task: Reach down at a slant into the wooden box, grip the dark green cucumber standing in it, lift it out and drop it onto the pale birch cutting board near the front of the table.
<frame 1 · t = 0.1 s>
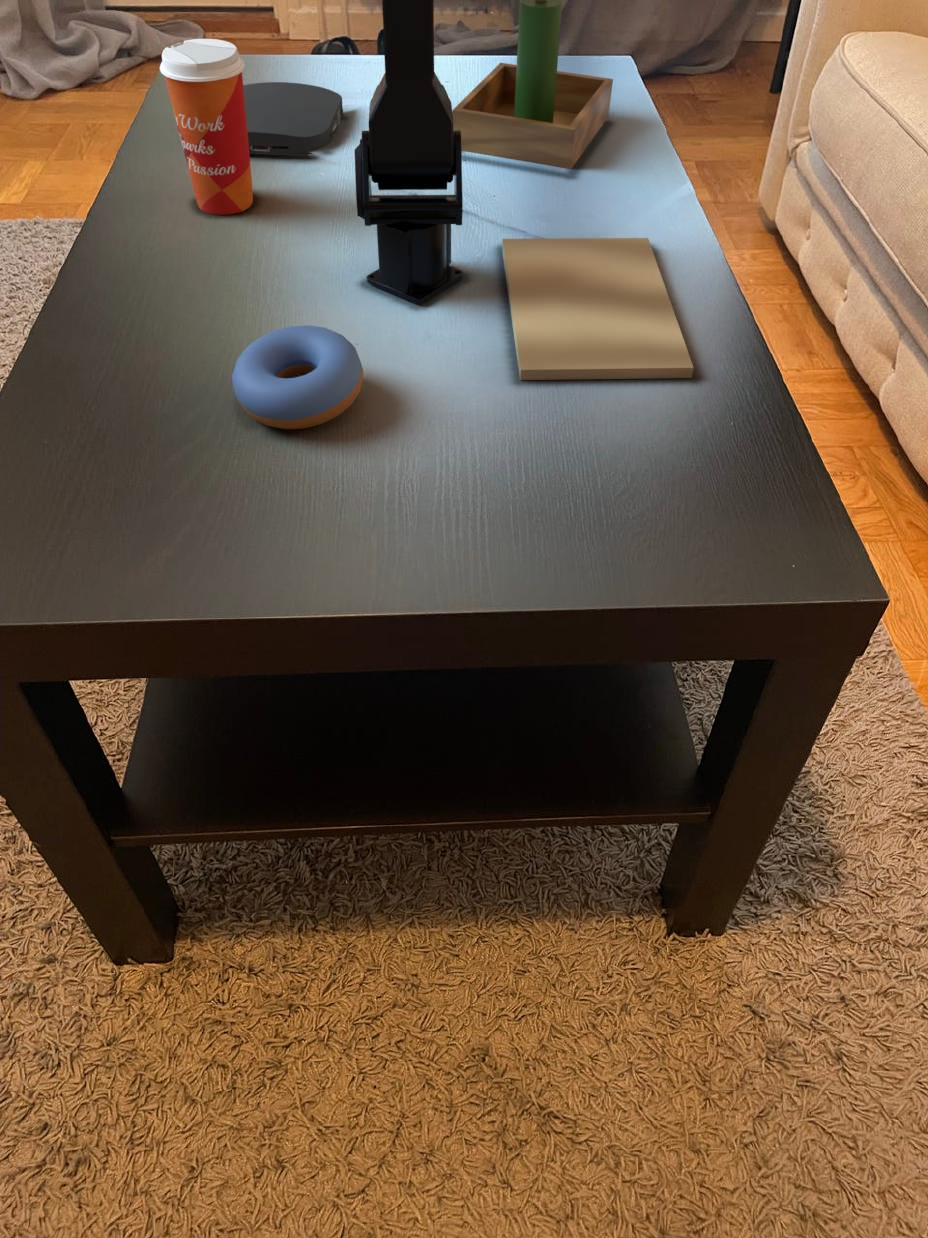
doughnut: (301, 403, 76), on the table
paper cup: (226, 204, 99), on the table
wooden box: (532, 138, 111), on the table
cutting board: (588, 307, 86), on the table
cucumber: (532, 131, 110), point 1 cm above the table, touching wooden box
media streaming box: (275, 132, 111), on the table
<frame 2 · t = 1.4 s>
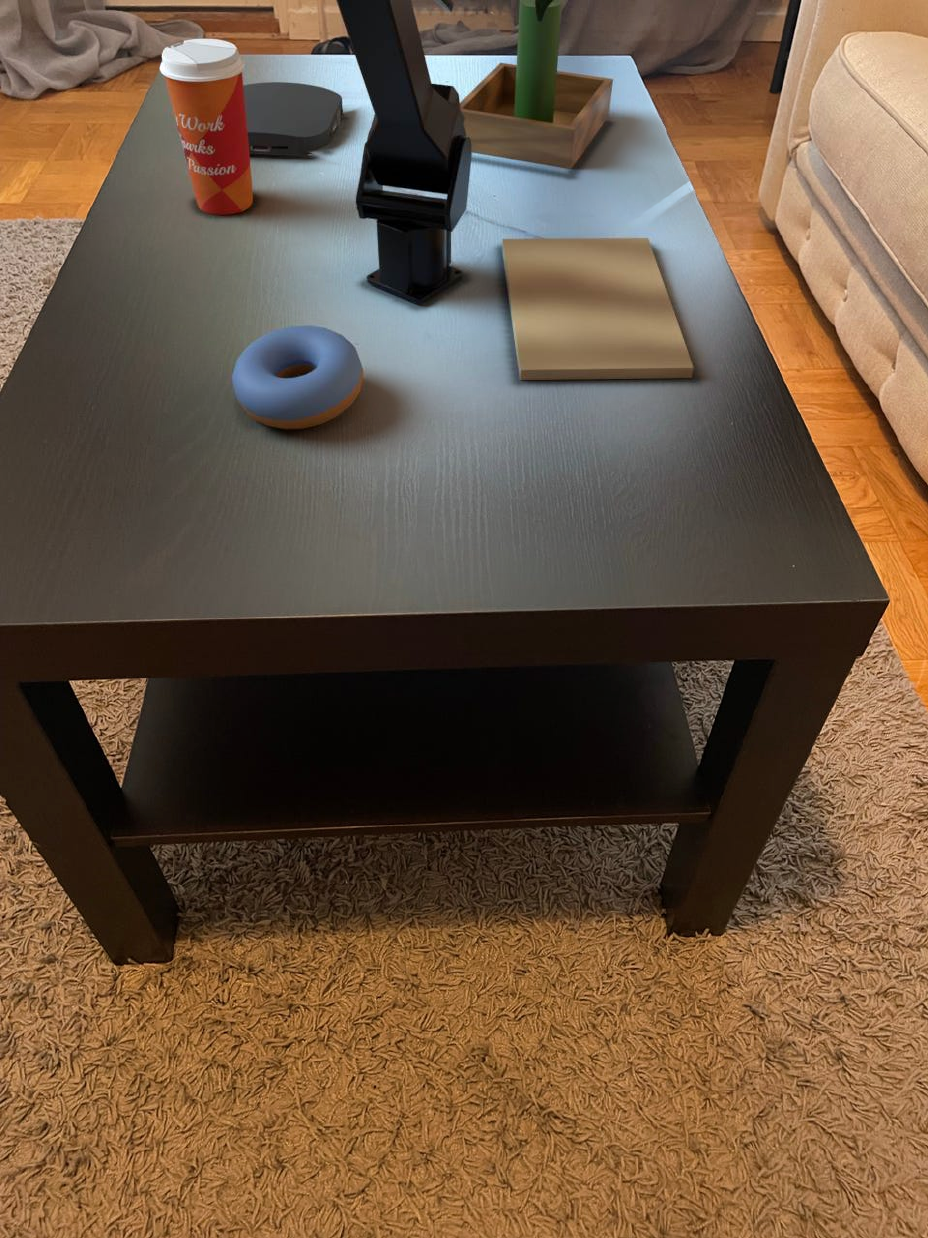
hand: (495, 11, 96), 14 cm above the table, tool tilted 35°, fingers open, 9 cm apart
nothing on the table moved.
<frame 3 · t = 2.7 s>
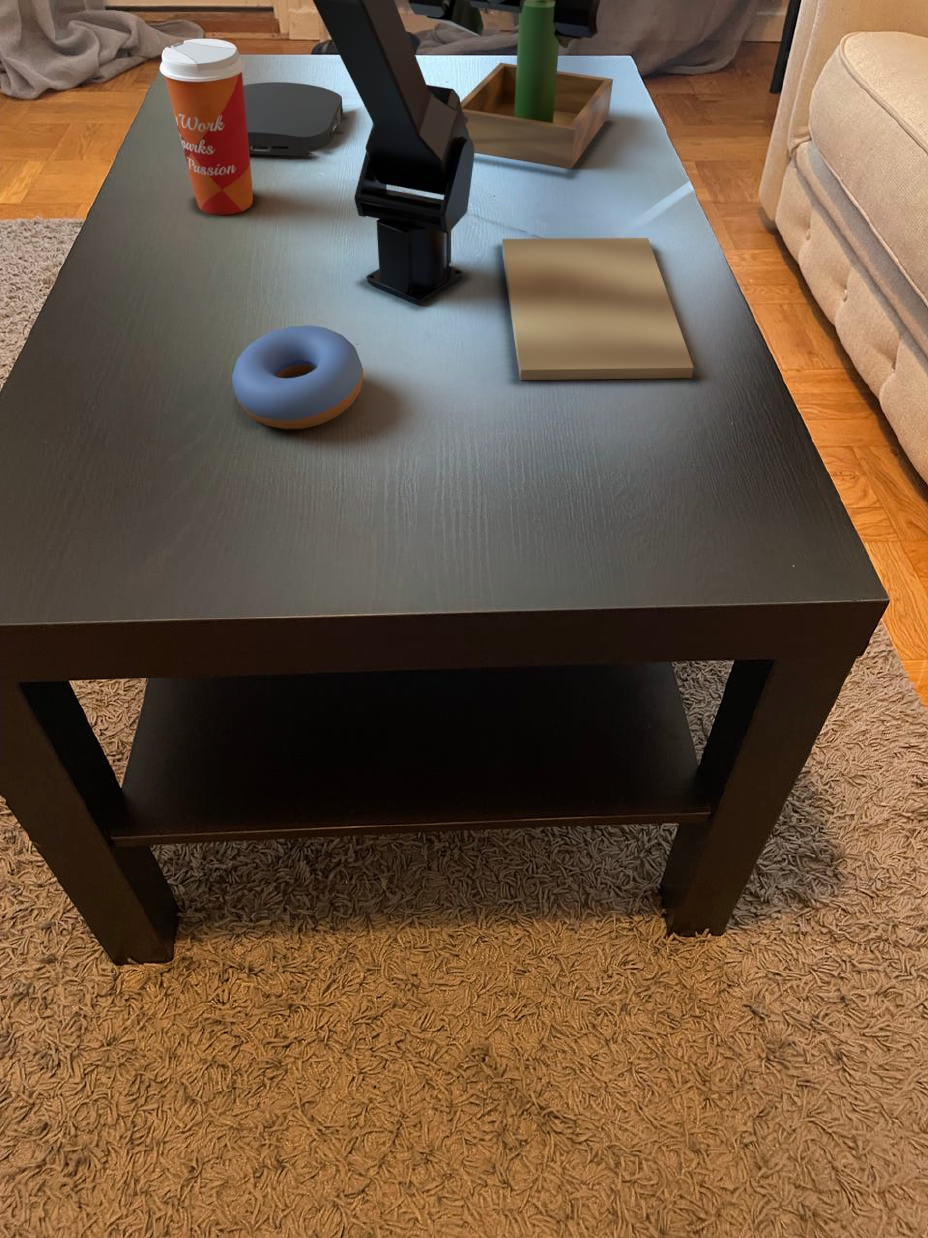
hand: (523, 36, 98), 12 cm above the table, tool tilted 45°, fingers open, 9 cm apart
nothing on the table moved.
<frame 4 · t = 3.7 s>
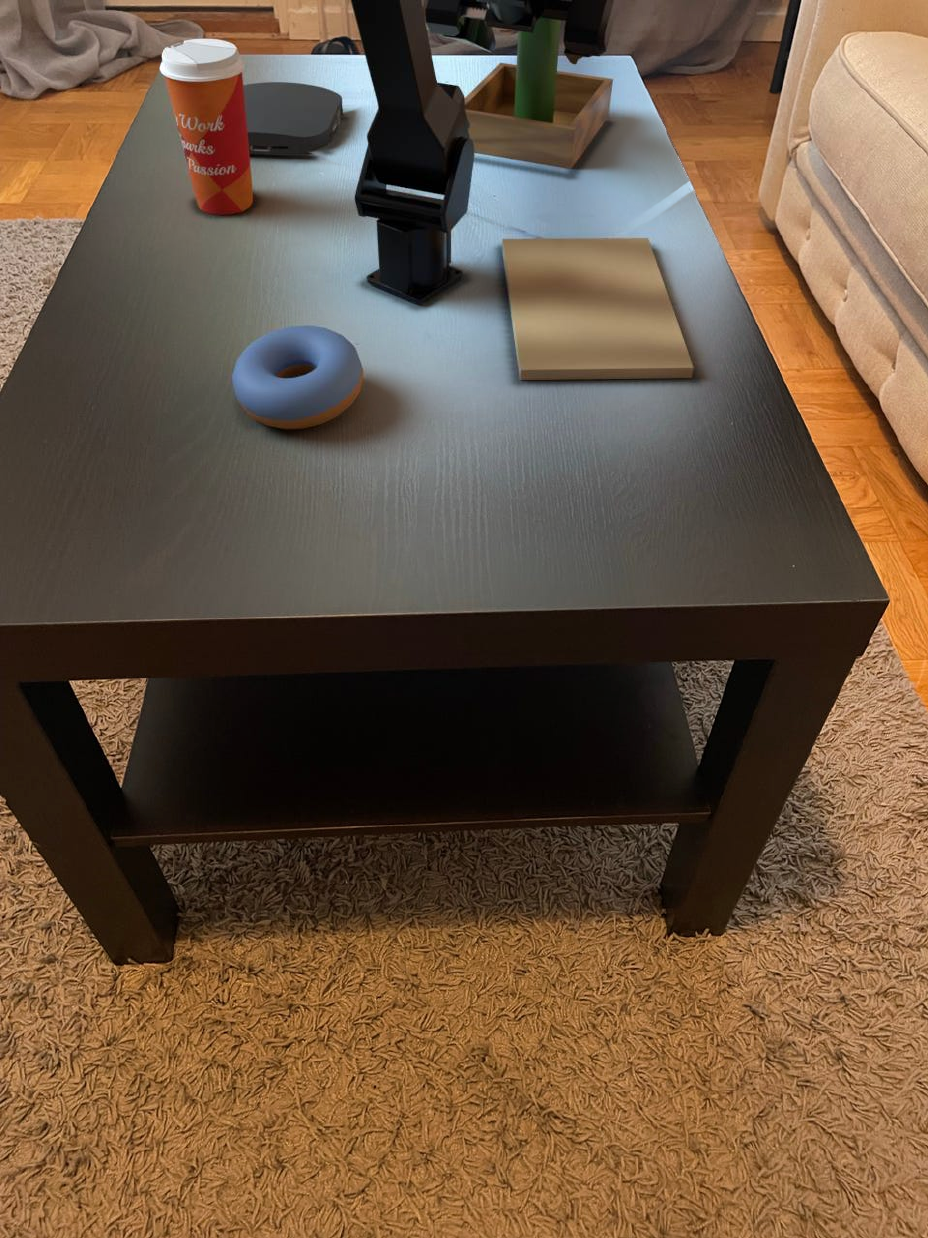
hand: (534, 53, 103), 9 cm above the table, tool tilted 45°, fingers open, 9 cm apart
nothing on the table moved.
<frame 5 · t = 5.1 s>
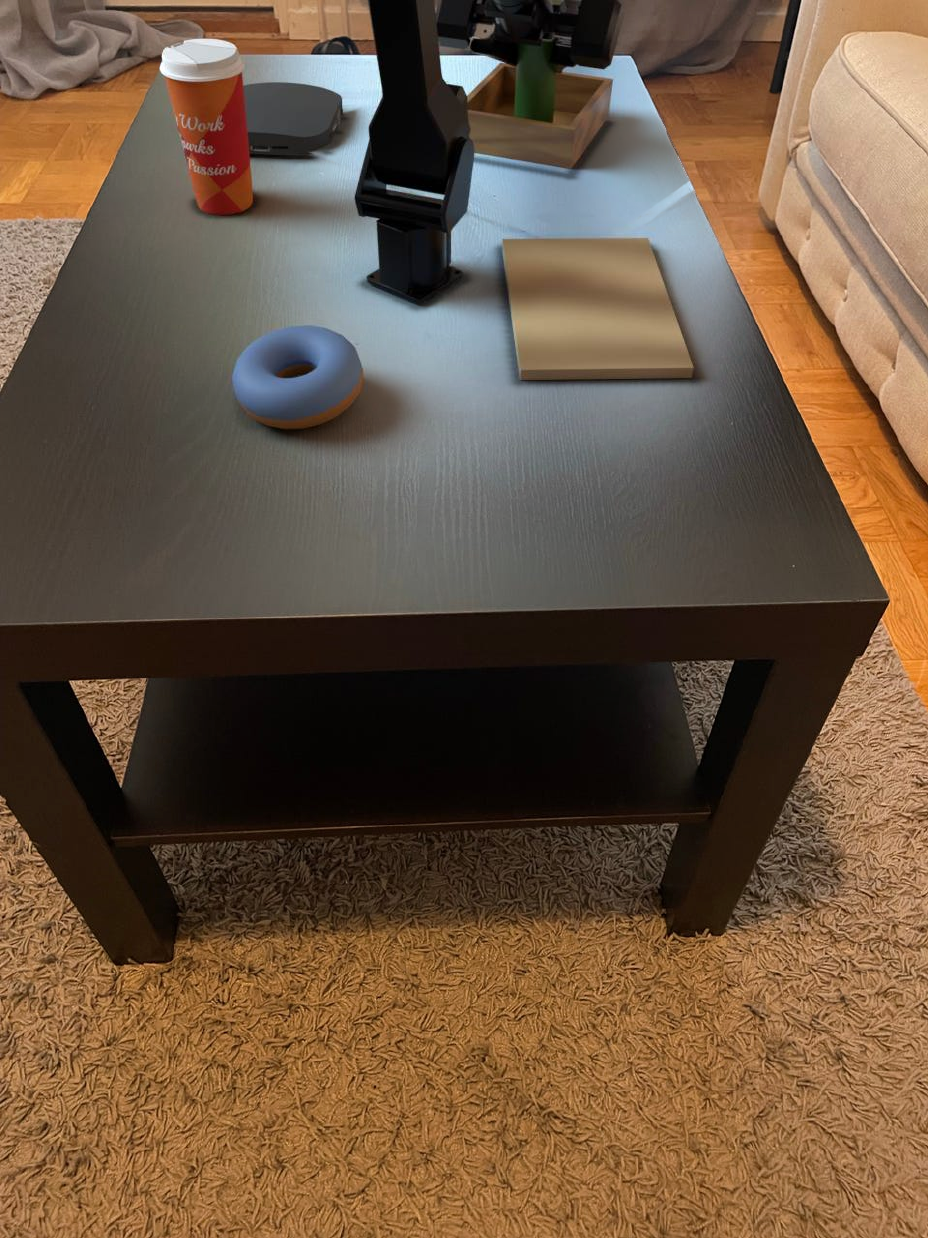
hand: (540, 65, 106), 7 cm above the table, tool tilted 45°, fingers closed on cucumber, 4 cm apart
cucumber: (532, 131, 110), point 1 cm above the table, touching wooden box, gripper
everything else where it was.
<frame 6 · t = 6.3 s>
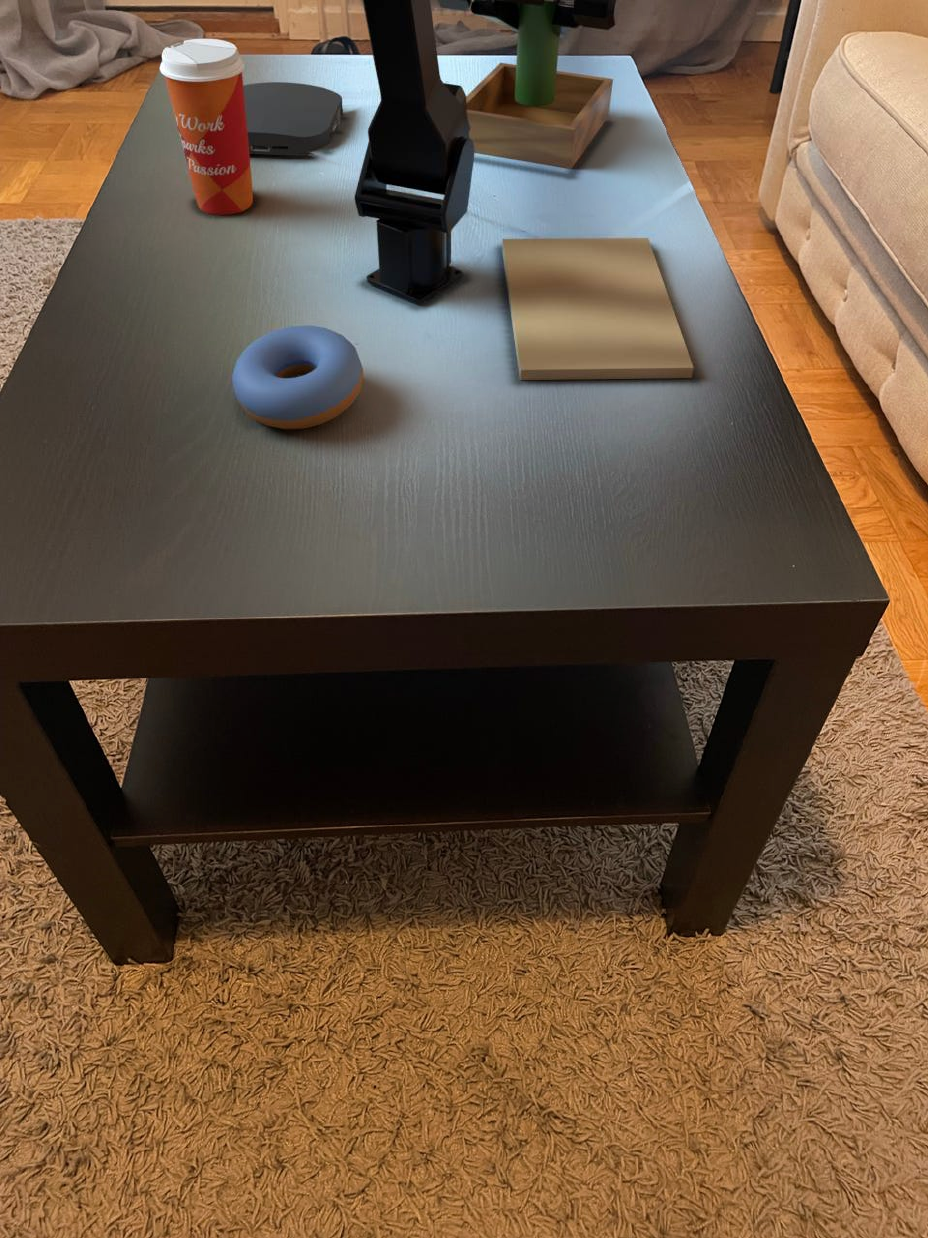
hand: (542, 30, 104), 11 cm above the table, tool tilted 45°, fingers closed on cucumber, 4 cm apart
cucumber: (534, 98, 107), point 4 cm above the table, touching gripper
everything else where it was.
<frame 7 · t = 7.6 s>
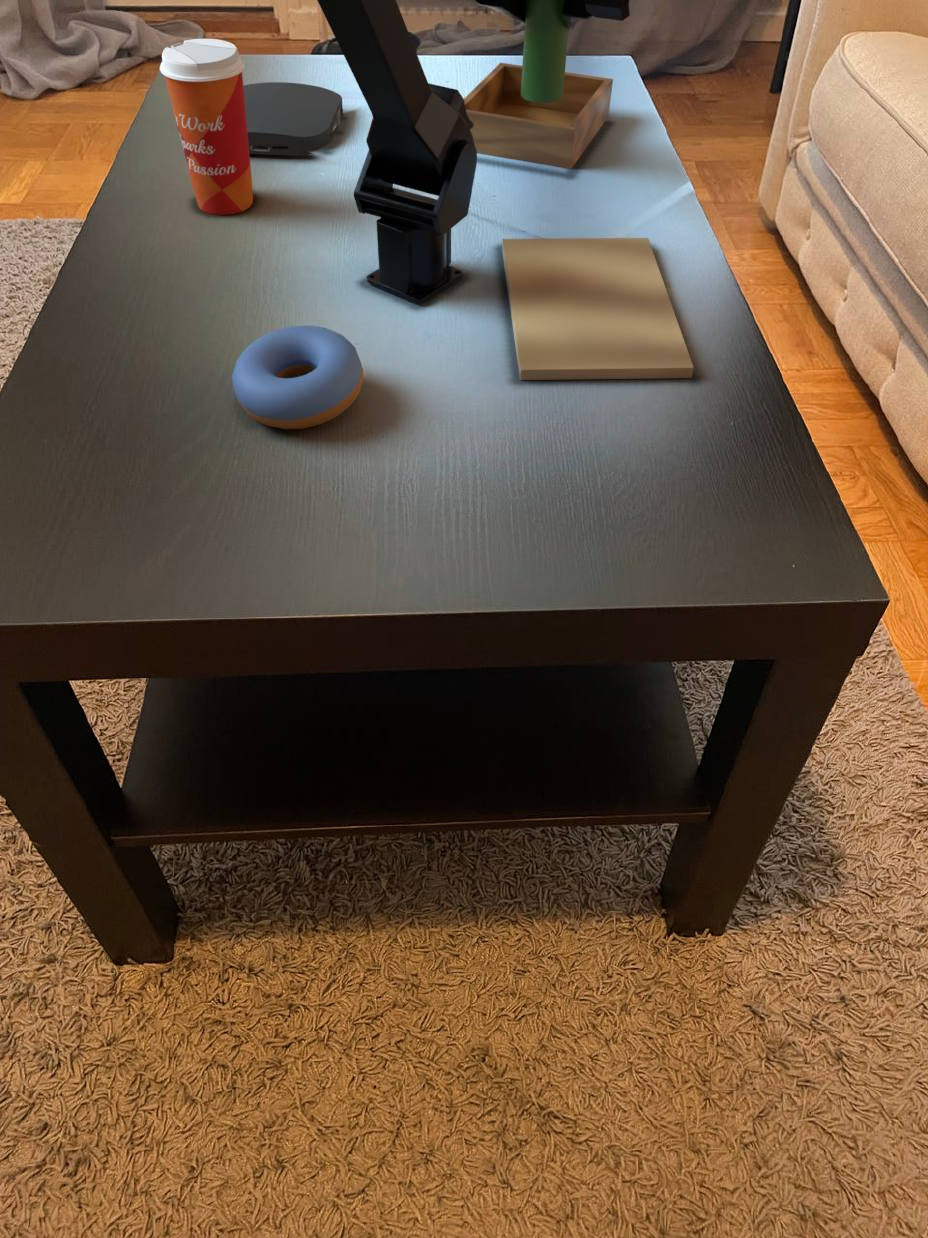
hand: (550, 22, 98), 13 cm above the table, tool tilted 45°, fingers closed on cucumber, 4 cm apart
cucumber: (541, 95, 102), point 7 cm above the table, touching gripper
everything else where it was.
when the fingers open (6 cm above the table, at t = 13.0 s): cucumber moves 2 cm and tips over, resting on cutting board.
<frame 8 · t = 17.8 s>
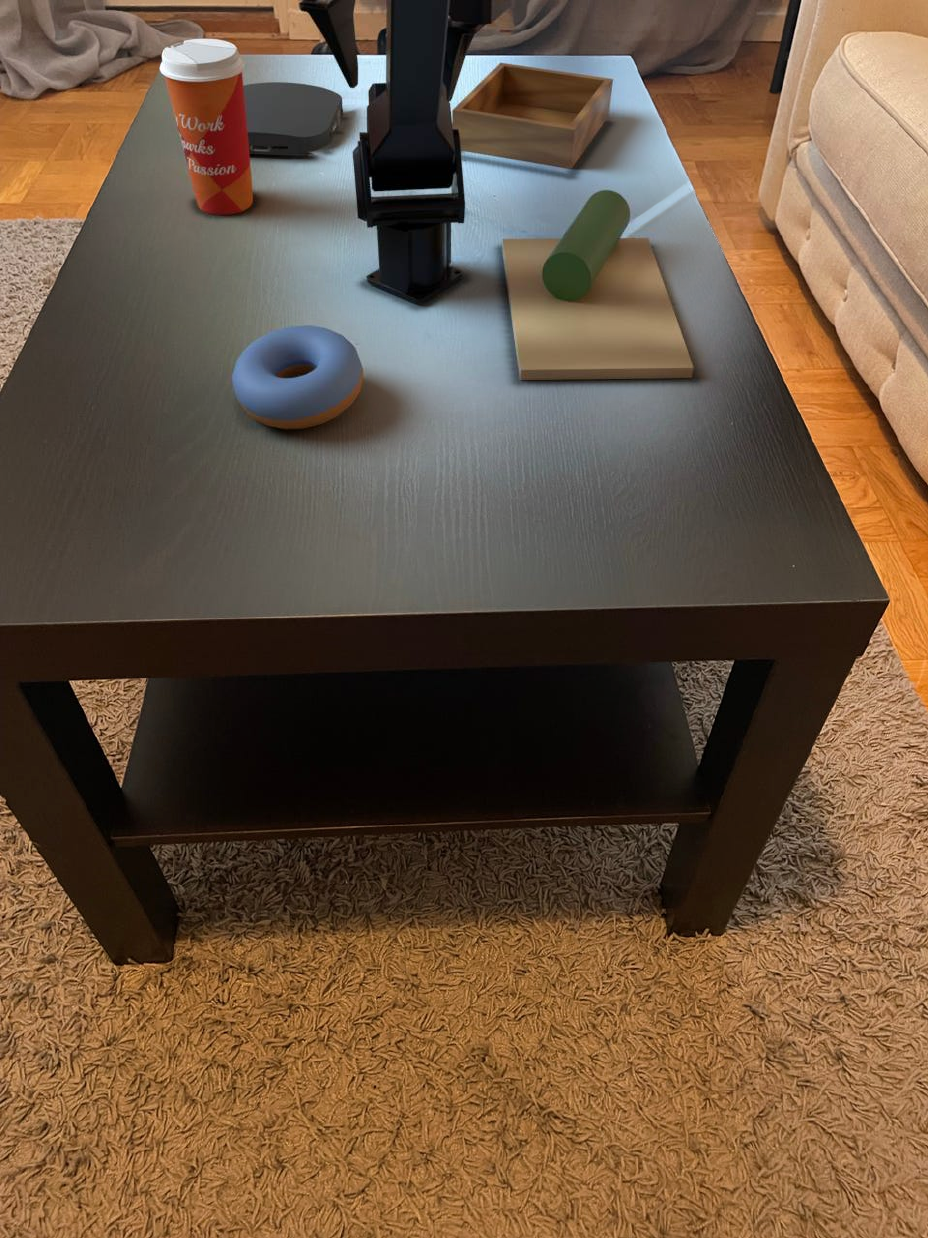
hand: (400, 93, 88), 12 cm above the table, tool pointing down, fingers open, 9 cm apart
cucumber: (566, 277, 83), point 3 cm above the table, tilted 90°, touching cutting board
everything else where it was.
at the end: cucumber 2.4 cm from the cutting board (horizontally); cucumber touching cutting board; cucumber point 3.2 cm above the table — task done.
